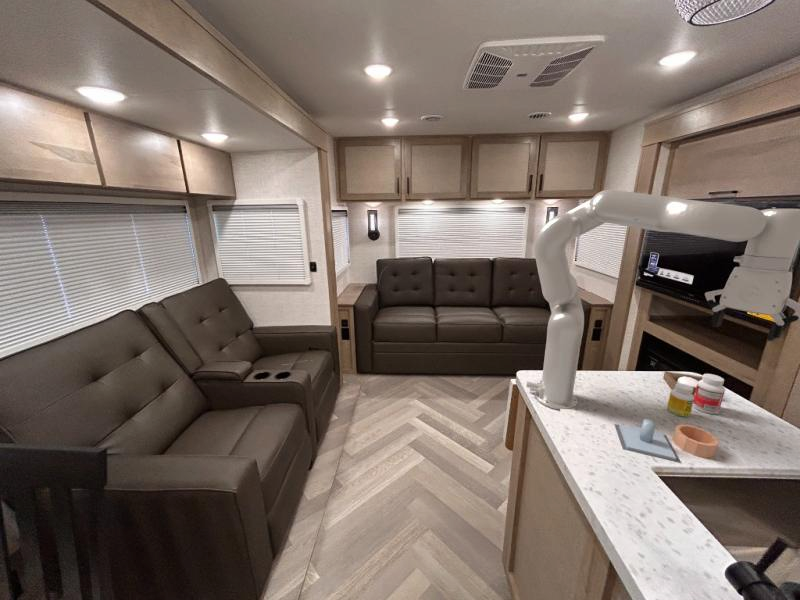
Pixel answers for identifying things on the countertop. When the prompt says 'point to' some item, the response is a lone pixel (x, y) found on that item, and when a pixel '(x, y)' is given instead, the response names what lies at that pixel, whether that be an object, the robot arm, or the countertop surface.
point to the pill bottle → (709, 394)
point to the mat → (641, 452)
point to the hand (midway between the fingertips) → (742, 332)
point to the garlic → (688, 381)
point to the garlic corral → (673, 377)
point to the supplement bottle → (681, 400)
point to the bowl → (695, 441)
